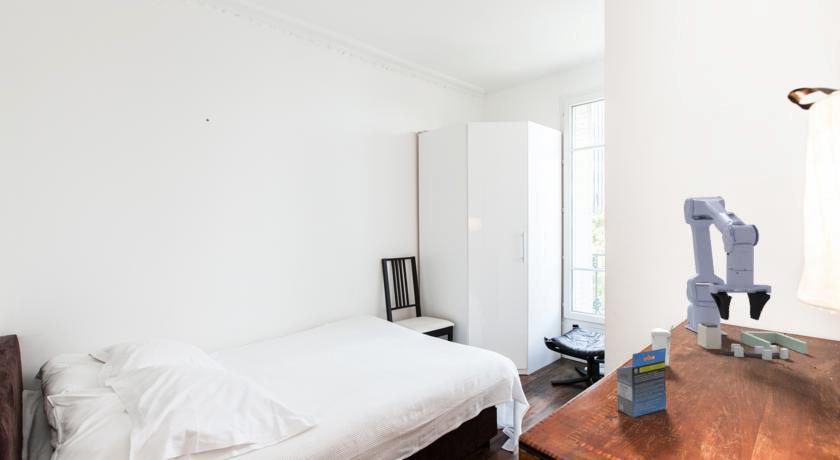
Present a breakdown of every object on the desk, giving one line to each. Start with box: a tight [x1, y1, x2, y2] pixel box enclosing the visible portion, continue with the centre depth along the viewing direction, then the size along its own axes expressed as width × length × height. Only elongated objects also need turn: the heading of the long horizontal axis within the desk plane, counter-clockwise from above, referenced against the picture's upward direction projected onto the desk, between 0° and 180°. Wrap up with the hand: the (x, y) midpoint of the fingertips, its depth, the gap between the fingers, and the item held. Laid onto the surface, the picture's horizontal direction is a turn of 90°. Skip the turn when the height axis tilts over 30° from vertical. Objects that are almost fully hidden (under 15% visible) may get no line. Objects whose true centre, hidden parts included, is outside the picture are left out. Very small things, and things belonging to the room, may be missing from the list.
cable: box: [719, 349, 790, 359], centre depth 105 cm, size 4×17×1 cm, turn 84°
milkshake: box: [650, 325, 674, 367], centre depth 100 cm, size 4×5×10 cm
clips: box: [730, 343, 789, 361], centre depth 105 cm, size 6×12×2 cm, turn 84°
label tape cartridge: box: [616, 348, 667, 418], centre depth 77 cm, size 9×4×12 cm, turn 110°
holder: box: [739, 331, 808, 355], centre depth 111 cm, size 10×10×3 cm
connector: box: [697, 323, 722, 350], centre depth 113 cm, size 4×4×7 cm
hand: (739, 319), depth 106 cm, fingers open, 7 cm apart
